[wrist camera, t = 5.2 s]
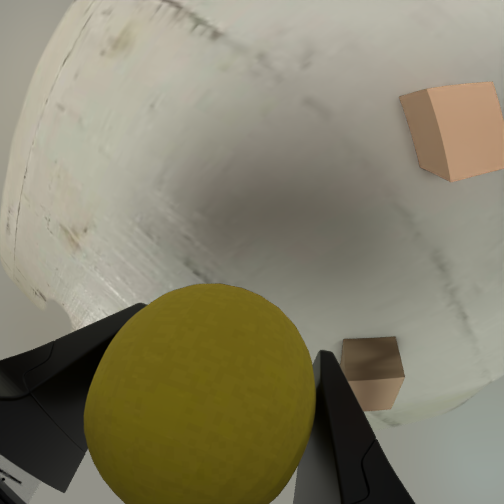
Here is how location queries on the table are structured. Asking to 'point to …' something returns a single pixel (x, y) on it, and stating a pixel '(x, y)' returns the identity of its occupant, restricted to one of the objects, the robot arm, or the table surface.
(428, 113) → the terracotta block
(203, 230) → the table surface
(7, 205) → the table surface
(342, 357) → the walnut block
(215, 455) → the lemon
